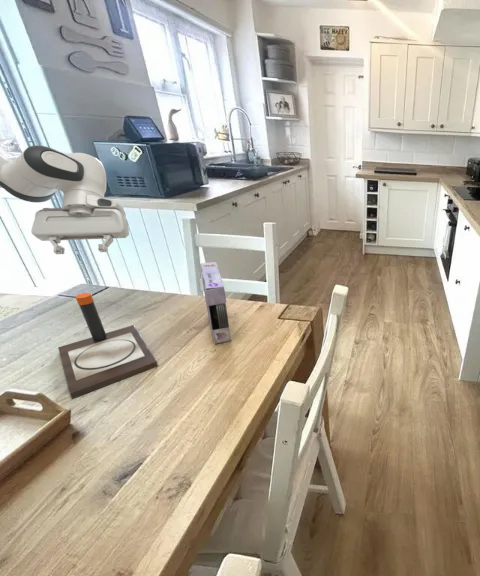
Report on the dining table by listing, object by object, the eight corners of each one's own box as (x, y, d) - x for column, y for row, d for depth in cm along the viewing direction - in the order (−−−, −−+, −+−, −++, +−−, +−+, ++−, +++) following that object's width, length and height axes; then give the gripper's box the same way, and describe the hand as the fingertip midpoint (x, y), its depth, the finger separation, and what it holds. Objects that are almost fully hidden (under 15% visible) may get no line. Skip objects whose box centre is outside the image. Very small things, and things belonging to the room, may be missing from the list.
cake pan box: (234, 342, 91) (224, 286, 83) (214, 347, 88) (202, 289, 80) (225, 311, 105) (215, 260, 97) (207, 314, 103) (197, 263, 95)
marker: (90, 342, 85) (72, 298, 79) (95, 335, 87) (78, 293, 82) (104, 340, 86) (88, 297, 80) (109, 334, 88) (93, 292, 82)
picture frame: (60, 352, 83) (57, 346, 82) (135, 329, 94) (133, 323, 93) (72, 398, 70) (69, 392, 69) (158, 366, 80) (156, 360, 80)
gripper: (28, 201, 84) (22, 249, 80) (122, 201, 91) (121, 245, 87) (44, 214, 90) (38, 259, 86) (132, 213, 97) (131, 255, 93)
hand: (81, 252), depth 87 cm, fingers open, 8 cm apart
